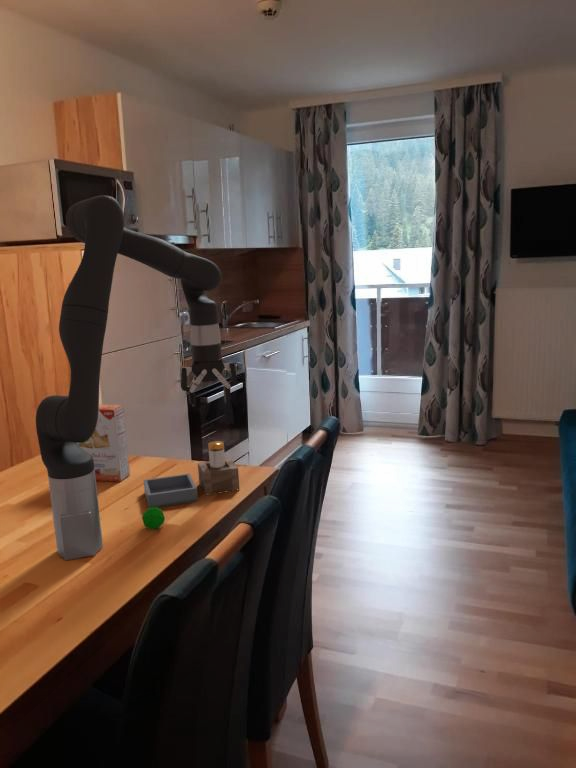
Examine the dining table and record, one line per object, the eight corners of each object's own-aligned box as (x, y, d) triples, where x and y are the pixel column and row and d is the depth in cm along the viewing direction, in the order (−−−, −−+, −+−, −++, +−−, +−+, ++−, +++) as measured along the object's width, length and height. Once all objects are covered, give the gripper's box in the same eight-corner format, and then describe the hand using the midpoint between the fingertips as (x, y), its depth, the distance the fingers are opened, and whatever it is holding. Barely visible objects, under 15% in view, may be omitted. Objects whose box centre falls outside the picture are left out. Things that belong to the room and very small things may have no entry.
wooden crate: (239, 490, 167) (238, 468, 166) (205, 495, 165) (203, 472, 163) (232, 479, 176) (230, 458, 174) (199, 483, 173) (197, 462, 172)
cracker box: (75, 480, 180) (66, 408, 176) (86, 473, 186) (78, 403, 182) (120, 482, 177) (113, 408, 173) (130, 475, 183) (123, 403, 179)
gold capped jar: (228, 488, 169) (225, 444, 166) (213, 490, 168) (209, 446, 165) (224, 483, 173) (222, 440, 170) (210, 485, 171) (207, 442, 169)
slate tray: (197, 501, 161) (196, 488, 160) (149, 508, 157) (147, 495, 156) (190, 485, 172) (189, 473, 171) (144, 492, 168) (143, 479, 168)
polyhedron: (141, 526, 147) (139, 506, 146) (163, 522, 149) (161, 502, 148) (145, 534, 143) (143, 514, 142) (167, 530, 144) (165, 510, 144)
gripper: (180, 346, 157) (185, 410, 160) (236, 341, 161) (240, 403, 165) (175, 342, 164) (180, 404, 167) (229, 337, 168) (233, 398, 172)
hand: (210, 404), depth 166 cm, fingers open, 8 cm apart
